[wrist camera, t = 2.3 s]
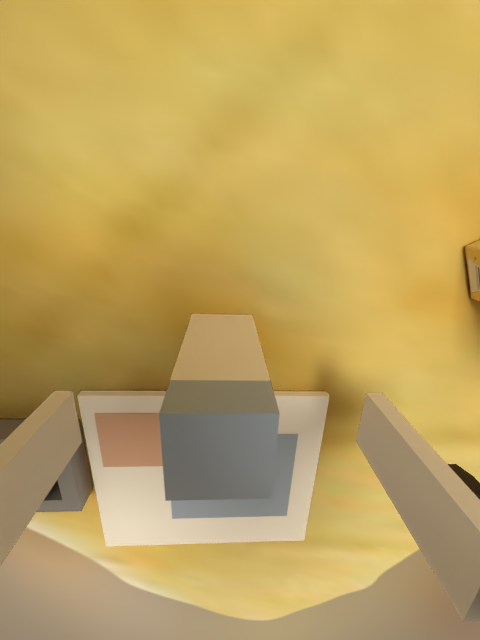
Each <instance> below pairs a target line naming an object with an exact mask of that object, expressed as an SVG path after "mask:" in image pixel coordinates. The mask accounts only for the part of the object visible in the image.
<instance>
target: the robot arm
mask: <svg viewBox="0 0 480 640" xmlns="http://www.w3.org/2000/svg"><path fill="white" fill-rule="evenodd" d="M356 442H357V443H358V445H359V447H360V449H361V450H362V452H363V454H364V455H365V457H366V459H367V460H368V462H369V464H370V465H371V467H372V469H373V471H374V472H375V474H376V476H377V477H378V479H379V481H380V482H381V484H382V486H383V487H384V489H385V491H386V493H387V494H388V496H389V498H390V499H391V501H392V503H393V504H394V506H395V508H396V509H397V511H398V513H399V514H400V516H401V518H402V520H403V521H404V523H405V525H406V526H407V528H408V530H409V531H410V533H411V535H412V536H413V538H414V540H415V542H416V543H417V545H418V547H419V548H420V550H421V552H422V553H423V555H424V557H425V558H426V560H427V562H428V563H429V565H430V567H431V569H432V570H433V572H434V573H435V575H436V577H437V579H438V580H439V582H440V584H441V585H442V587H443V589H444V591H445V592H446V594H447V595H448V597H449V599H450V601H451V602H452V604H453V606H454V607H455V609H456V611H457V612H458V614H459V616H460V618H461V619H462V621H480V483H479V482H478V481H477V480H476V479H475V478H474V477H473V476H472V475H471V474H469V473H468V472H466V471H465V470H463V469H462V468H461V467H459V466H458V465H456V464H447V463H446V462H445V461H444V460H443V459H442V458H441V457H440V456H439V455H438V453H437V452H436V451H435V450H434V449H433V448H432V447H431V446H430V445H429V444H428V442H427V441H426V440H425V439H424V438H423V437H422V436H421V435H420V434H419V433H418V431H417V430H416V429H415V428H414V427H413V426H412V425H411V424H410V423H409V422H408V420H407V419H406V418H405V417H404V416H403V415H402V414H401V413H400V412H399V411H398V410H397V408H396V407H395V406H394V405H393V404H392V403H391V402H390V401H389V400H388V399H387V397H386V396H385V395H384V394H383V393H366V396H365V401H364V406H363V410H362V415H361V419H360V424H359V429H358V433H357V438H356ZM81 443H82V439H81V433H80V428H79V422H78V417H77V412H76V406H75V401H74V395H73V391H54V392H53V393H52V394H51V395H50V396H49V397H48V398H47V399H46V400H45V401H44V402H43V403H42V404H41V405H40V406H39V407H38V408H37V409H36V410H35V411H34V412H33V413H32V414H31V415H30V416H29V417H28V418H27V419H26V420H24V421H23V422H22V423H21V424H20V425H19V426H18V427H17V428H16V429H15V430H14V431H13V432H12V433H11V434H10V435H9V436H8V437H7V438H6V439H5V440H4V441H3V442H2V443H1V444H0V566H1V565H2V563H3V562H4V560H5V559H6V557H7V556H8V554H9V553H10V551H11V550H12V548H13V546H14V545H15V543H16V542H17V540H18V539H19V537H20V536H21V534H22V533H23V531H24V530H25V528H26V527H27V525H28V524H29V522H30V521H31V519H32V517H33V516H34V514H35V513H36V511H37V510H38V508H39V507H40V505H41V504H42V502H43V501H44V499H45V498H46V496H47V495H48V493H49V492H50V490H51V488H52V487H53V485H54V484H55V482H56V481H57V479H58V478H59V476H60V475H61V473H62V472H63V470H64V469H65V467H66V466H67V464H68V462H69V461H70V459H71V458H72V456H73V455H74V453H75V452H76V450H77V449H78V447H79V446H80V444H81Z"/></svg>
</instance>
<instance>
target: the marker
mask: <svg viewBox="0 0 480 640" xmlns="http://www.w3.org/2000/svg"><path fill="white" fill-rule="evenodd" d="M279 415H280V413H279V409H278V406H277V402H276V398H275V395H274V391H273V388H272V384H271V380H270V377H269V373H268V370H267V366H266V362H265V359H264V355H263V352H262V348H261V344H260V341H259V337H258V334H257V330H256V326H255V323H254V319H253V316H252V315H236V314H192V315H191V318H190V322H189V325H188V328H187V331H186V334H185V337H184V340H183V343H182V346H181V349H180V352H179V355H178V358H177V361H176V364H175V367H174V370H173V373H172V376H171V379H170V382H169V385H168V388H167V391H166V394H165V397H164V400H163V403H162V406H161V409H160V412H159V421H160V435H161V448H162V461H163V475H164V488H165V501H177V500H226V499H271V490H272V480H273V471H274V462H275V453H276V443H277V434H278V425H279Z"/></svg>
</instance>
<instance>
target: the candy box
mask: <svg viewBox="0 0 480 640" xmlns="http://www.w3.org/2000/svg"><path fill="white" fill-rule="evenodd" d="M465 253H466V260H467V269H468V276H469V283H470V291H471V298H472V299H474V300H477V301H480V240H479V241H476V242H474V243H472V244H469V245H467V246H466V247H465Z"/></svg>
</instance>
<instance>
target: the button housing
mask: <svg viewBox="0 0 480 640" xmlns="http://www.w3.org/2000/svg"><path fill="white" fill-rule="evenodd" d="M24 420H26V419H0V444H1V443H2V442H3V441H4V440H5V439H6V438H7V437H8V436H9V435H10V434H11V433H12V432H13V431H14V430H15V429H16V428H17V427H18V426H19V425H20V424H21V423H22V422H23V421H24ZM78 422H79V428H80V433H81V439H82V443H81V444H80V446H79V447H78V449H77V450H76V452H75V453H74V455H73V456H72V458H71V459H70V461H69V462H68V464H67V466H66V467H65V469H64V470H63V472H62V473H61V475H60V476H59V478H58V479H57V481H56V482H55V484H54V485H53V487H52V488H51V490H50V492H49V493H48V495H47V496H46V498H45V499H44V501H43V502H42V504H41V505H40V507H39V508H38V510H37V511H36V512H61V511H82V509H83V507H84V505H85V503H86V501H87V499H88V497H89V495H90V493H91V491H92V488H93V485H92V480H91V475H90V469H89V464H88V459H87V454H86V449H85V444H84V439H83V434H82V429H81V424H80V419H78Z"/></svg>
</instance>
